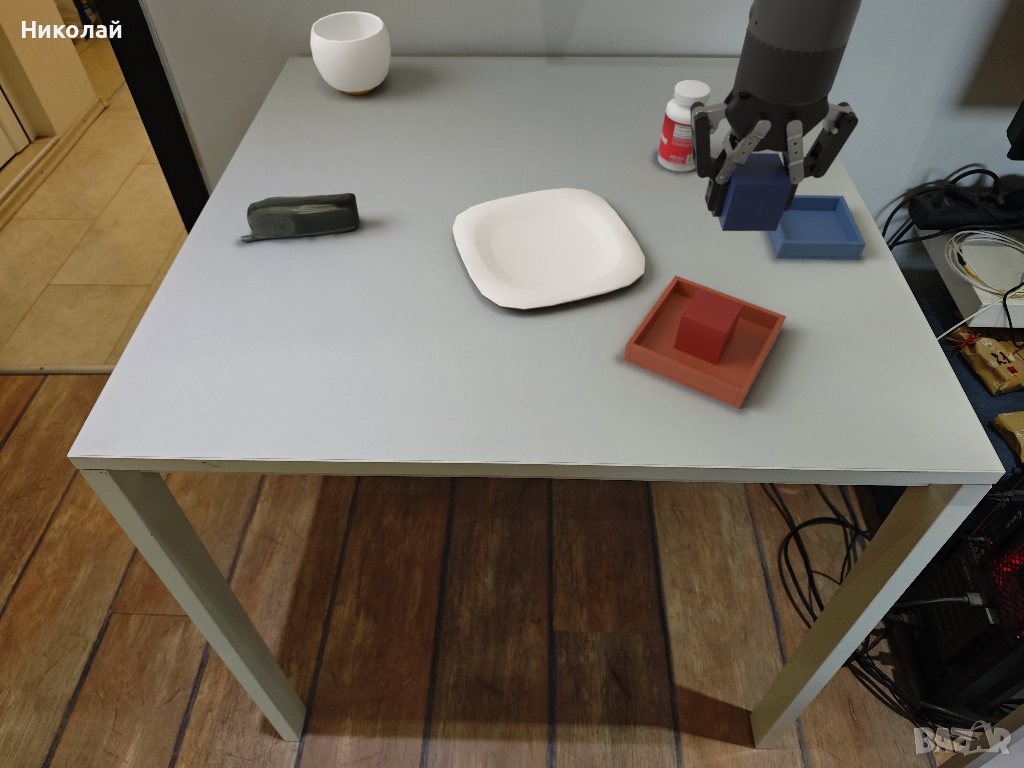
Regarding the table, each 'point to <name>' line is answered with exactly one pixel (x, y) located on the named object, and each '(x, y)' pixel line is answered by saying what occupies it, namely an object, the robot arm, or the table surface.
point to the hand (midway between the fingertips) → (745, 211)
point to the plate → (546, 248)
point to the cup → (351, 50)
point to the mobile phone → (302, 216)
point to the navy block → (756, 194)
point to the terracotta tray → (717, 381)
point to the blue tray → (817, 230)
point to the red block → (707, 326)
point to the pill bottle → (680, 126)
